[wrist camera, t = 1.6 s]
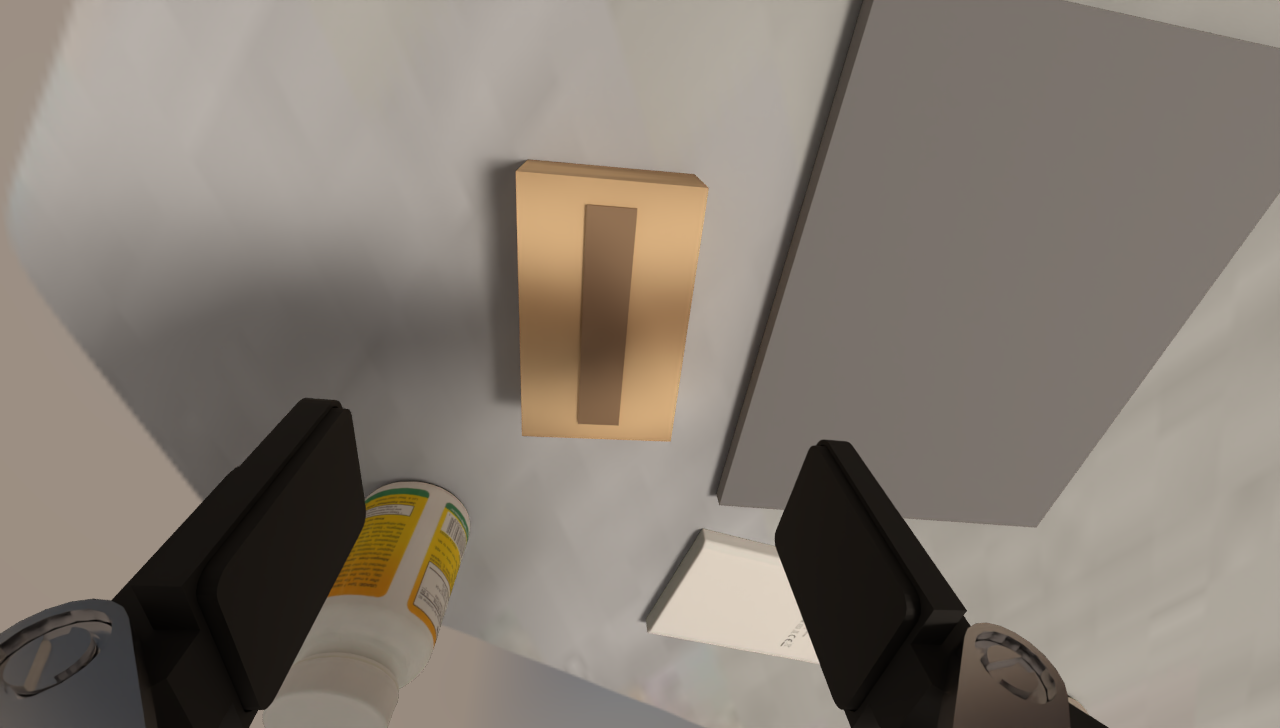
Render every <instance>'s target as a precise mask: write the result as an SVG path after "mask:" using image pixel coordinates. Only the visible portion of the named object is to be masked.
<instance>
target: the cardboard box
mask: <svg viewBox="0 0 1280 728" xmlns="http://www.w3.org/2000/svg"><path fill="white" fill-rule="evenodd" d="M708 189H709V188H708V187H707V186H706V185H705V184H704V183H703V182H702V181H701V180H700V179H699V178H698V177H697V176H696V175H695V174H685V173H673V172H662V171H651V170H640V169H629V168H618V167H607V166H595V165H584V164H573V163H562V162H551V161H540V160H527V161H526V162H525V163H524V164H523V165H522V166H521V167H520V168H519V169H517V170H516V206H517V247H518V288H519V329H520V370H521V411H522V436H537V437H564V438H591V439H618V440H645V441H671V435H672V428H673V422H674V415H675V408H676V402H677V395H678V389H679V382H680V375H681V369H682V362H683V355H684V349H685V342H686V335H687V329H688V322H689V315H690V309H691V302H692V295H693V289H694V282H695V276H696V269H697V262H698V256H699V249H700V242H701V236H702V229H703V222H704V216H705V209H706V202H707V196H708Z"/></svg>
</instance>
